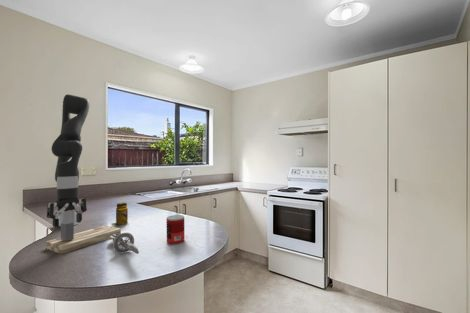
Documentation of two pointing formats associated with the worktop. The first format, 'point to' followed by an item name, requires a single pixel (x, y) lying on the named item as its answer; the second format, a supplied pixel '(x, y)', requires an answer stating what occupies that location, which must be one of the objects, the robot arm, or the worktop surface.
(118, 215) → the condiment
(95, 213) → the worktop surface
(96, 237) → the wooden board
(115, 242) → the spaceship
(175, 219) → the canned food
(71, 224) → the fader knob
